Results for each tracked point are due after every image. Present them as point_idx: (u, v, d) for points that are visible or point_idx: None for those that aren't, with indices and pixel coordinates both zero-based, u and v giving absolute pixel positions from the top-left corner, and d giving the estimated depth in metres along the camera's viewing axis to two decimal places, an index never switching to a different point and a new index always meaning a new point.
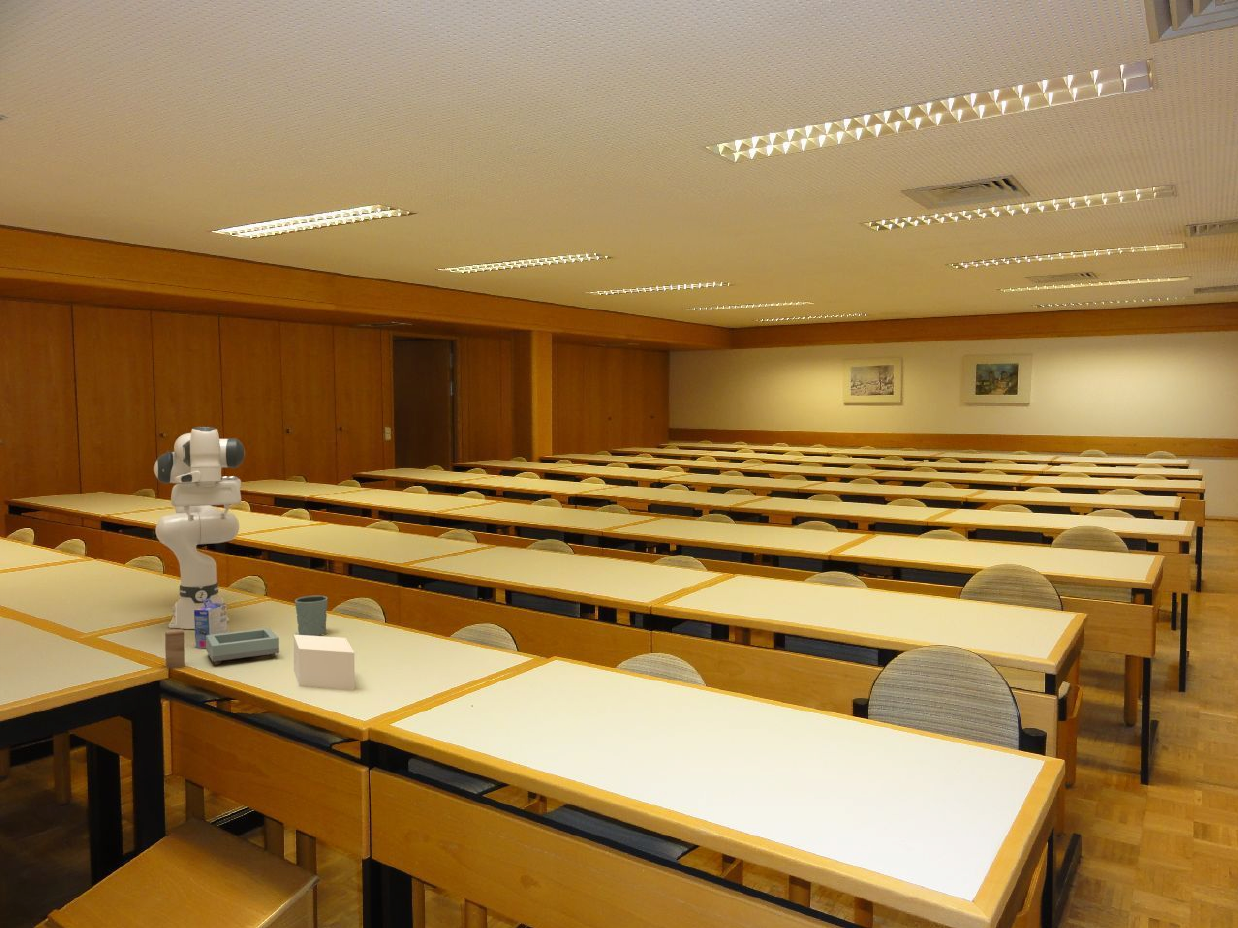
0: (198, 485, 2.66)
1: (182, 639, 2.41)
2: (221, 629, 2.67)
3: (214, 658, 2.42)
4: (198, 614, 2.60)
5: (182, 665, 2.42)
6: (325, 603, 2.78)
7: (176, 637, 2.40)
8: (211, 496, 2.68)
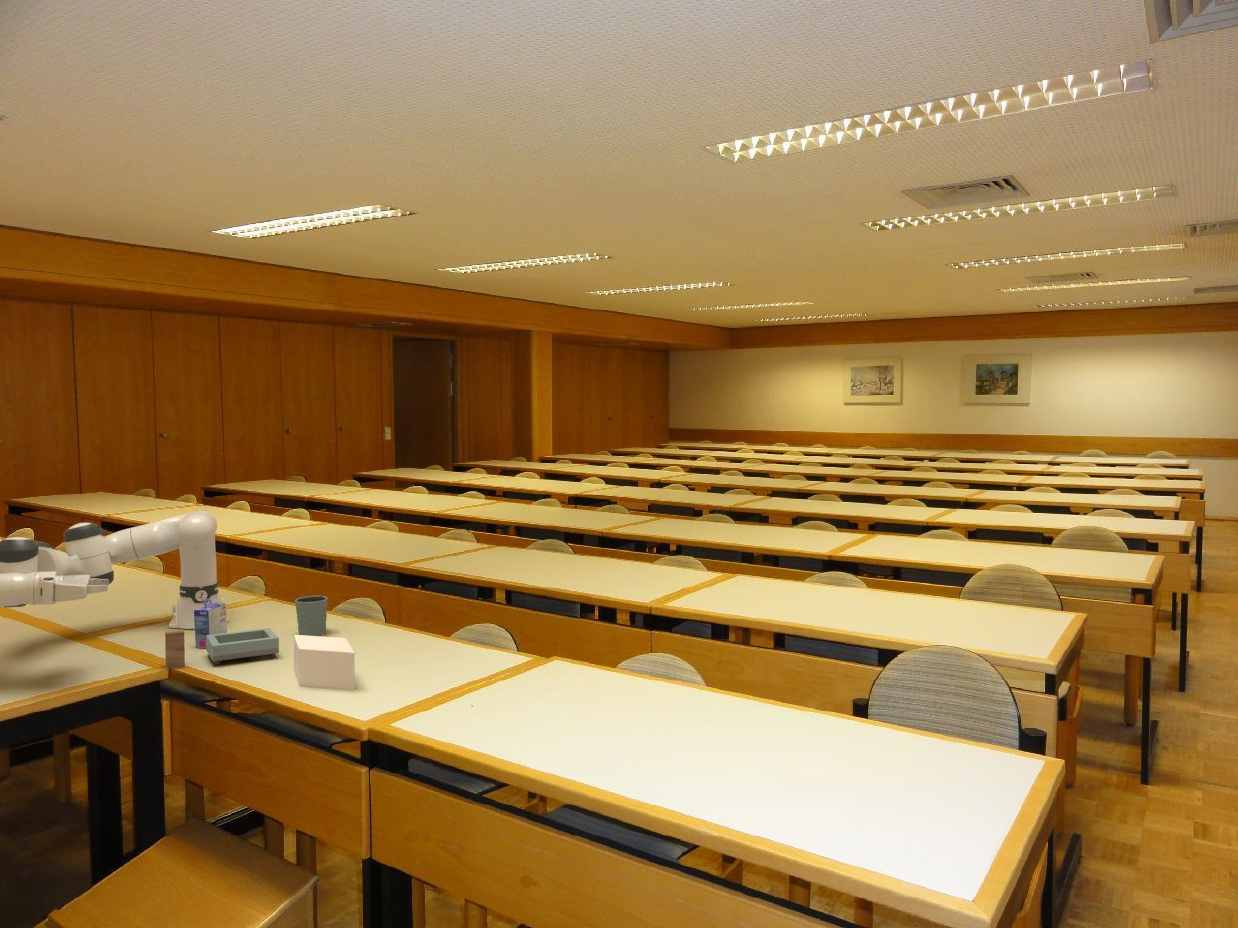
0: (60, 581, 2.26)
1: (182, 639, 2.41)
2: (221, 629, 2.67)
3: (214, 658, 2.42)
4: (198, 614, 2.60)
5: (182, 665, 2.42)
6: (325, 603, 2.78)
7: (176, 637, 2.40)
8: (77, 579, 2.31)
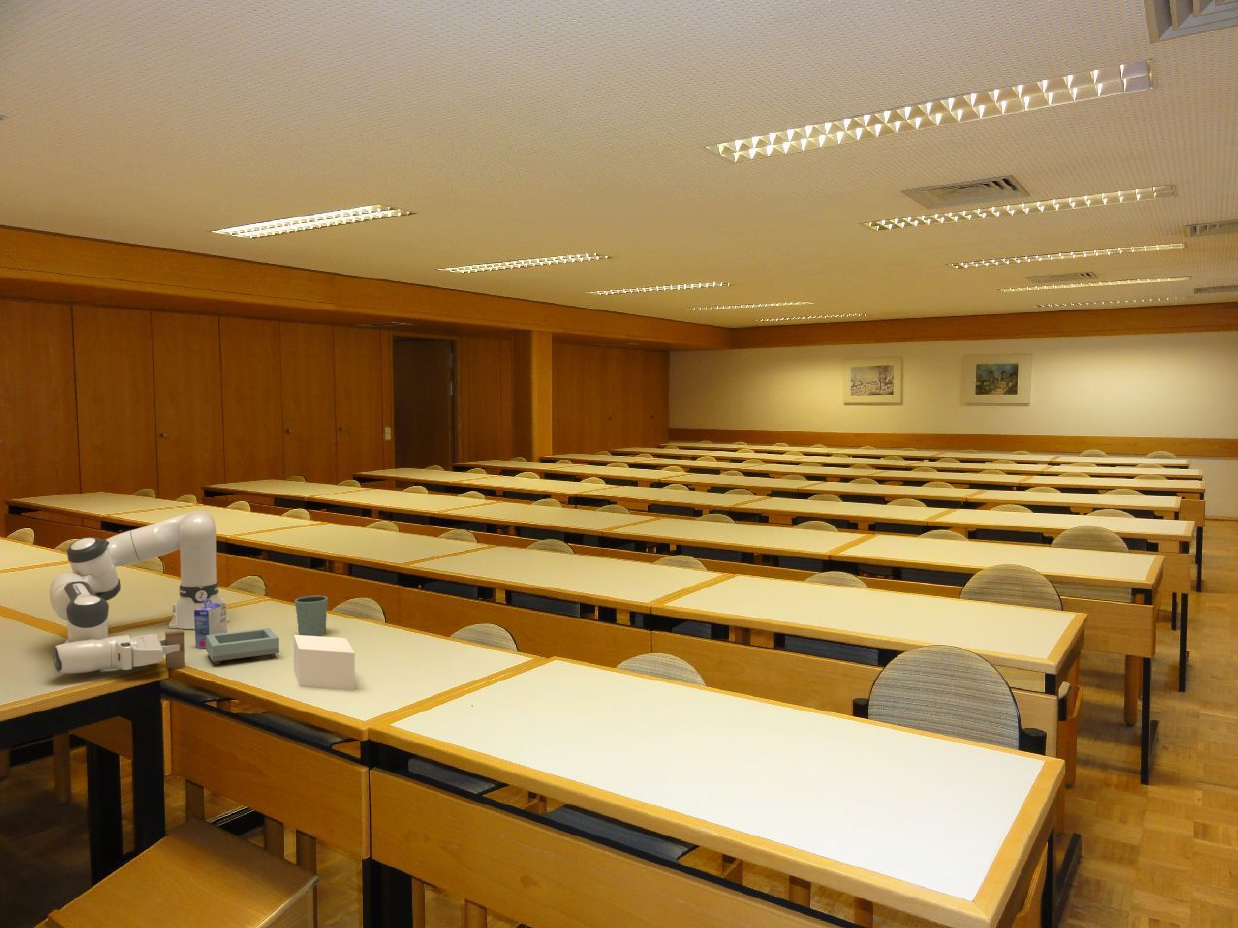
0: None
1: (182, 639, 2.41)
2: (221, 629, 2.67)
3: (214, 658, 2.42)
4: (198, 614, 2.60)
5: (182, 665, 2.42)
6: (325, 603, 2.78)
7: (176, 637, 2.40)
8: (148, 641, 2.40)
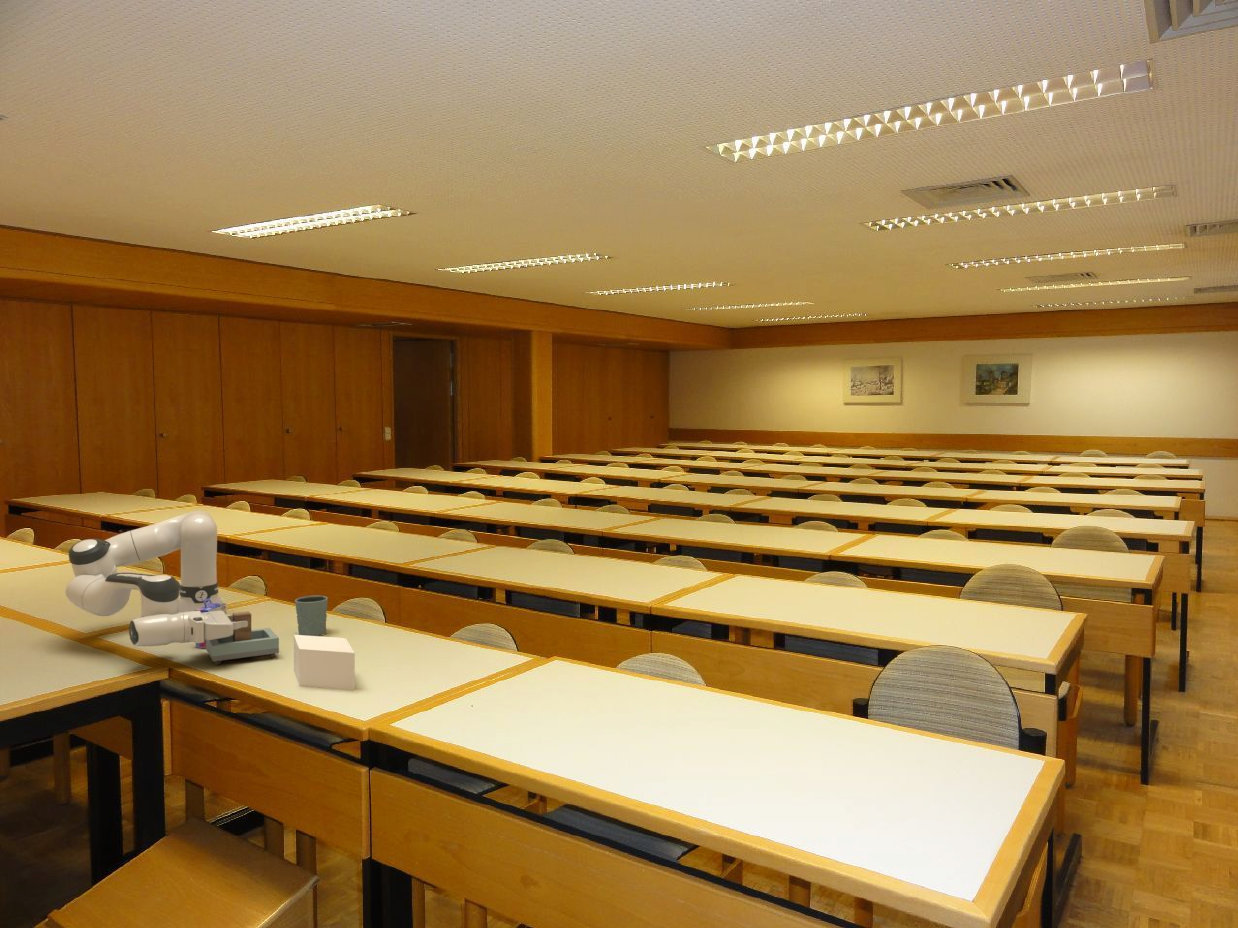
0: None
1: (249, 620, 2.51)
2: None
3: (214, 658, 2.42)
4: None
5: None
6: (325, 603, 2.78)
7: (244, 619, 2.50)
8: (217, 616, 2.49)
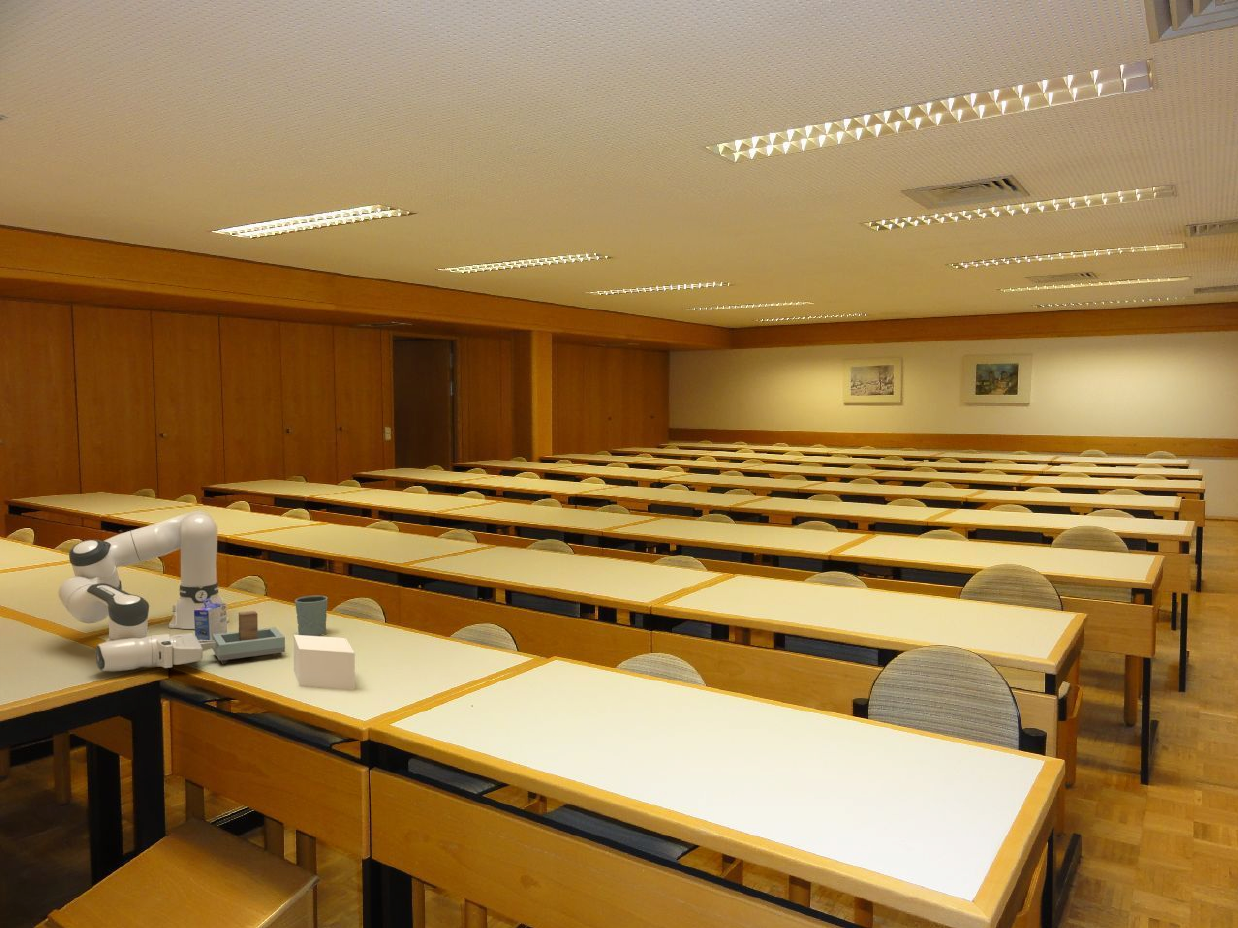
0: None
1: (255, 620, 2.52)
2: (221, 629, 2.67)
3: (221, 657, 2.43)
4: (198, 614, 2.60)
5: None
6: (325, 603, 2.78)
7: (250, 618, 2.51)
8: (187, 640, 2.44)
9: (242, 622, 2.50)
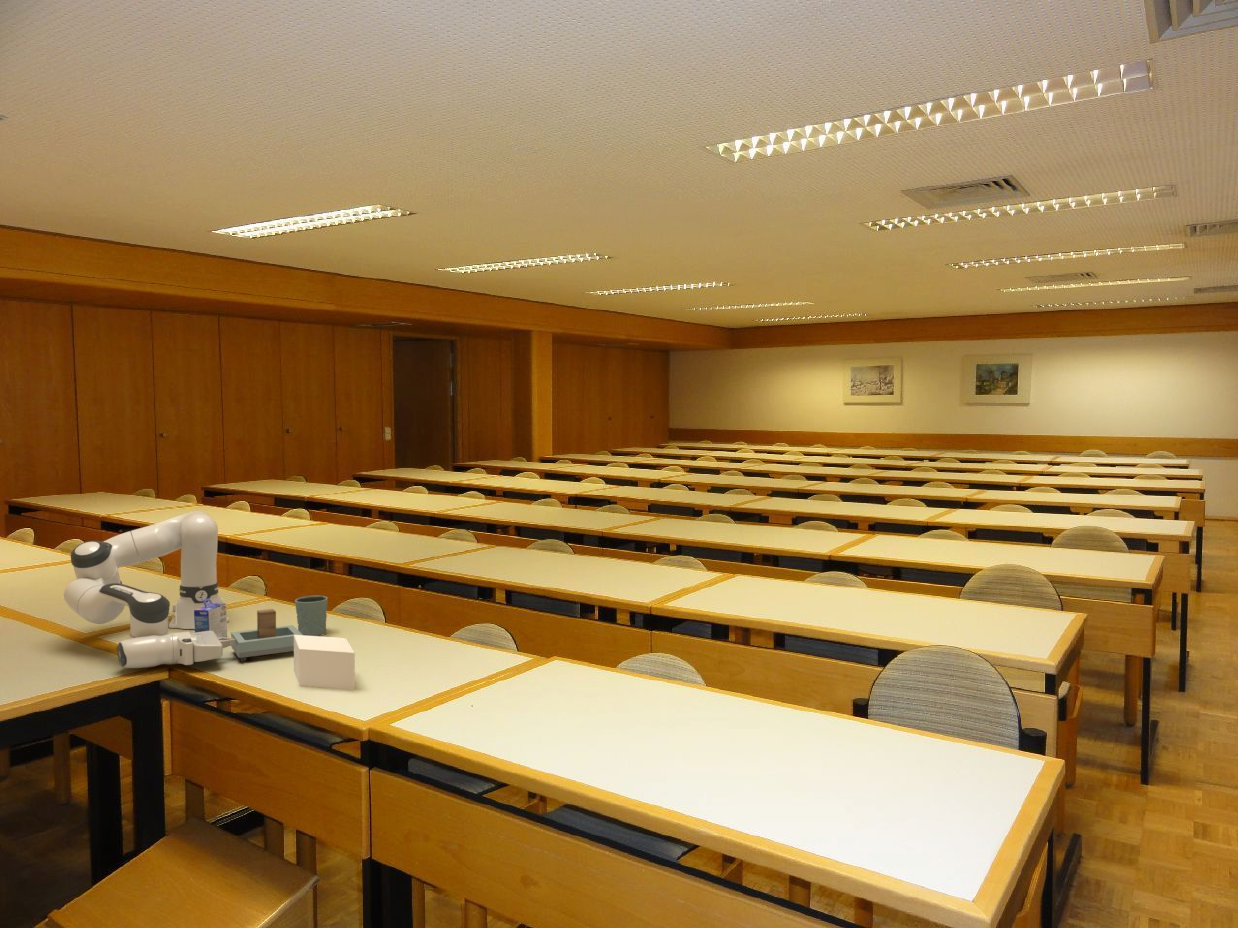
0: None
1: (274, 618, 2.55)
2: (221, 629, 2.67)
3: (240, 655, 2.46)
4: (198, 614, 2.60)
5: None
6: (325, 603, 2.78)
7: (269, 616, 2.54)
8: (207, 637, 2.47)
9: (261, 620, 2.53)
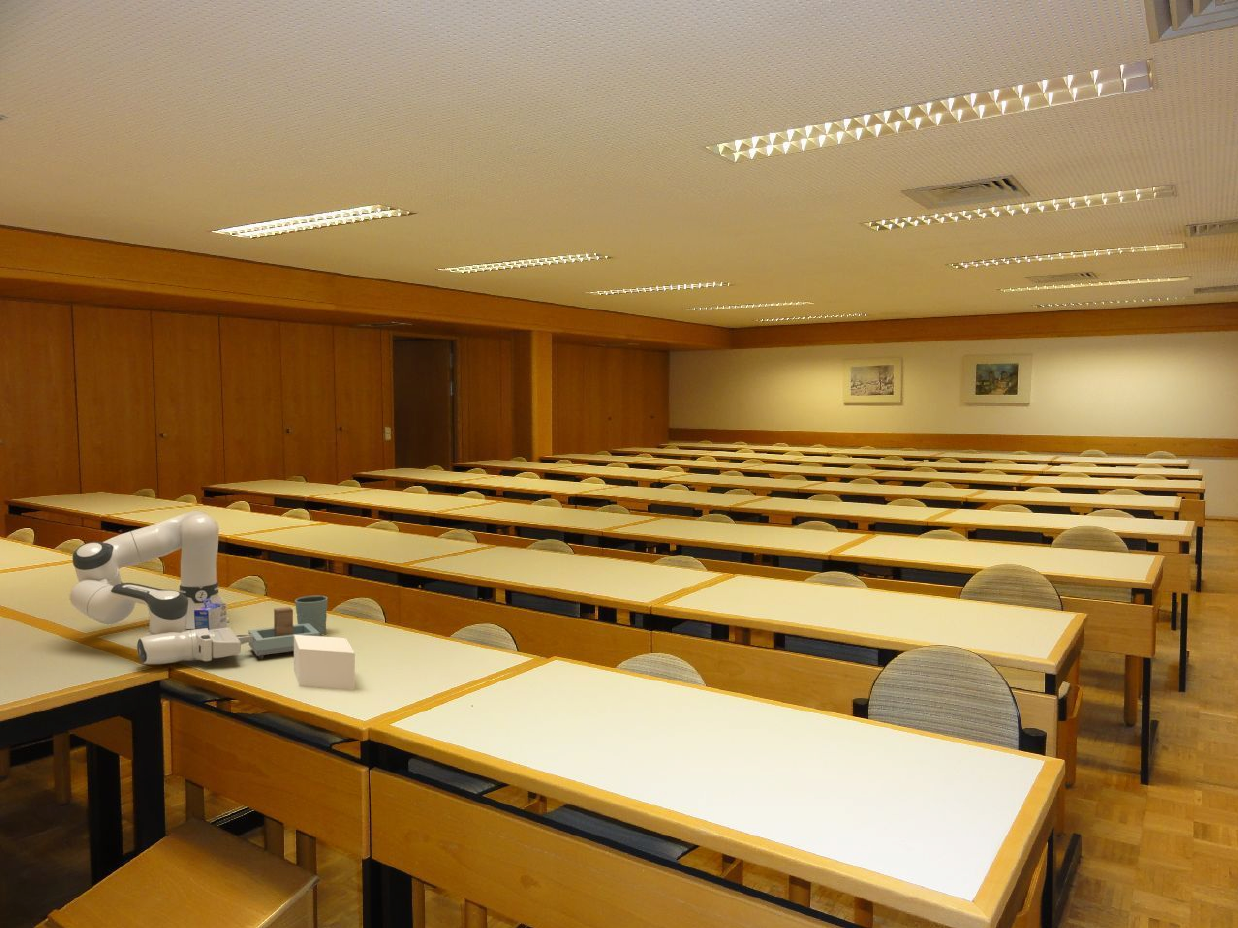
0: None
1: (291, 616, 2.57)
2: None
3: (258, 652, 2.48)
4: (198, 614, 2.60)
5: None
6: (325, 603, 2.78)
7: (286, 614, 2.56)
8: (224, 634, 2.50)
9: (278, 618, 2.55)
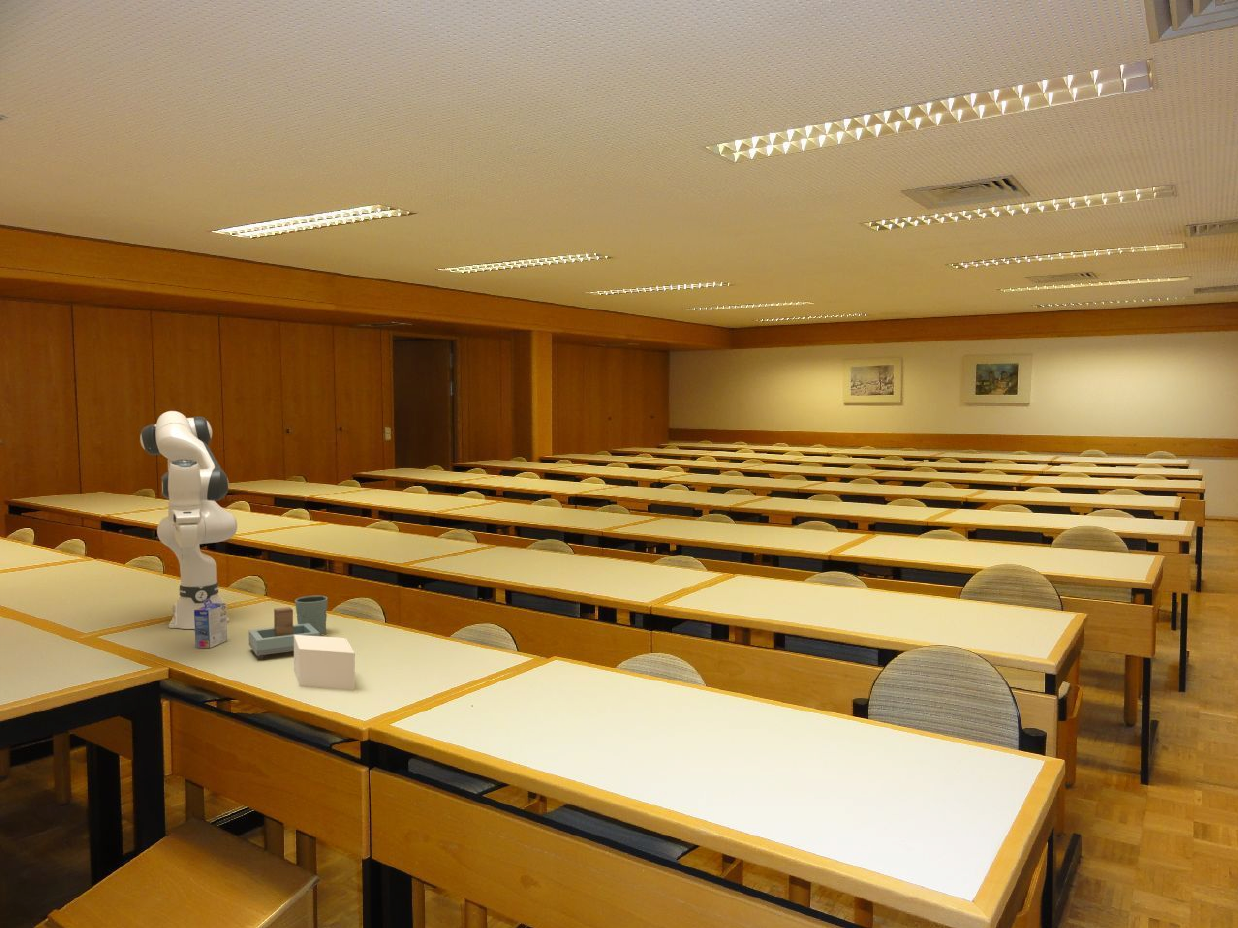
0: None
1: (291, 616, 2.57)
2: (221, 629, 2.67)
3: (258, 652, 2.48)
4: (198, 614, 2.60)
5: None
6: (325, 603, 2.78)
7: (286, 614, 2.56)
8: None
9: (278, 618, 2.55)
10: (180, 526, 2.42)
